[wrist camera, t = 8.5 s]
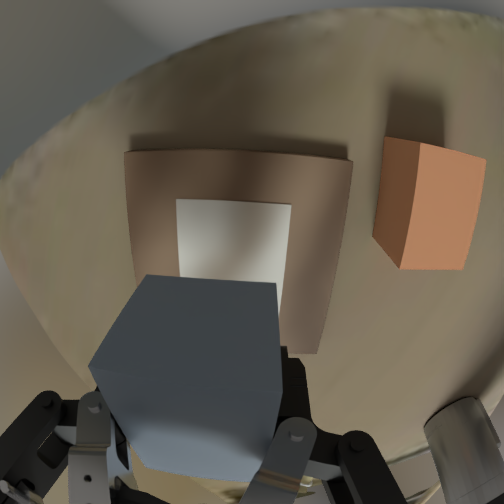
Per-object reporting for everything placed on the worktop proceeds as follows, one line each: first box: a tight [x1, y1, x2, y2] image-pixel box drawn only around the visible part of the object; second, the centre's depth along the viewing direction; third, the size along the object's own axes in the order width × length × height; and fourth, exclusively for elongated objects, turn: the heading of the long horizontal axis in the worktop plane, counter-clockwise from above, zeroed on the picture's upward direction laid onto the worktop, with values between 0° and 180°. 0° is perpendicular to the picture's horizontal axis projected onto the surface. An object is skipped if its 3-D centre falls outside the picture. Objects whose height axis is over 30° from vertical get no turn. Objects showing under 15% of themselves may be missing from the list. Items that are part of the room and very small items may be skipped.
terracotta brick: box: [372, 136, 486, 270], centre depth 15 cm, size 5×7×5 cm
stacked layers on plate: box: [298, 475, 313, 493], centre depth 32 cm, size 10×9×6 cm
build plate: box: [124, 149, 353, 354], centre depth 20 cm, size 14×15×1 cm
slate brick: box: [88, 274, 283, 482], centre depth 10 cm, size 5×7×5 cm
